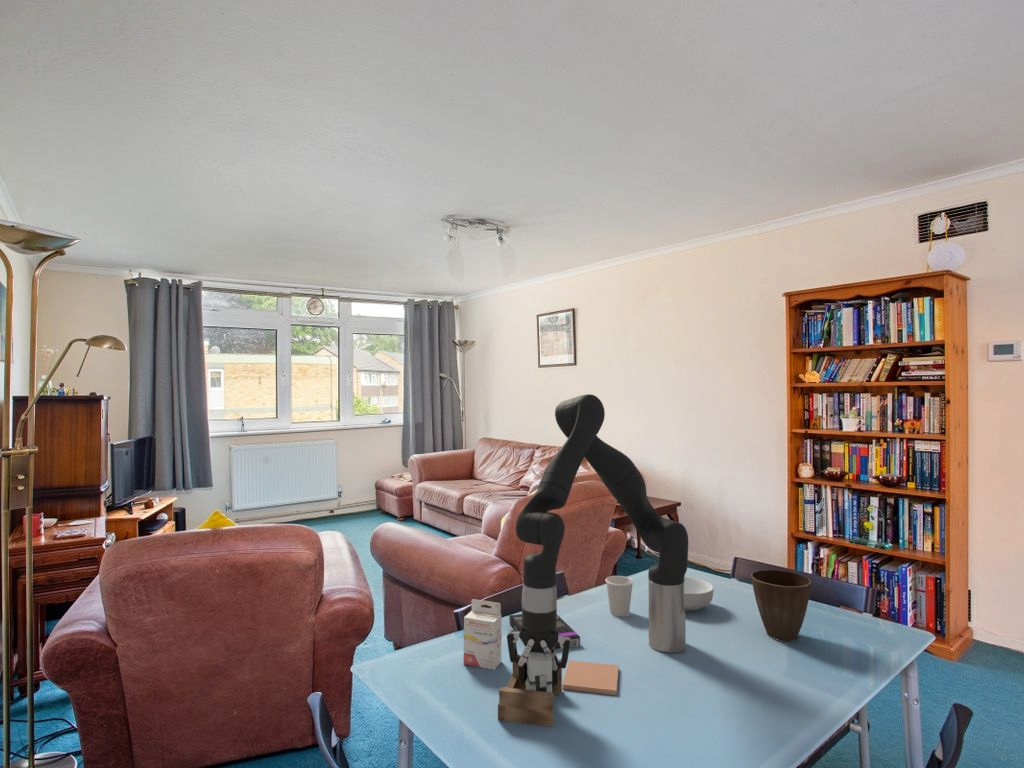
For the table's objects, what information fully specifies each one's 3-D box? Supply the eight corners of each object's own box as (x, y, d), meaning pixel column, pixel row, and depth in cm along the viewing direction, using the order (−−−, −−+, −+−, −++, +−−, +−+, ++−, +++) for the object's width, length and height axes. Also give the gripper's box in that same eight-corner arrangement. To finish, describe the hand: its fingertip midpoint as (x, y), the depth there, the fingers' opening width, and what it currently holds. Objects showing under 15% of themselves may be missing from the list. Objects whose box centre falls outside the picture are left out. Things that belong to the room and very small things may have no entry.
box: (580, 649, 150) (553, 620, 168) (580, 636, 150) (553, 608, 168) (530, 656, 146) (508, 625, 164) (530, 642, 146) (508, 612, 164)
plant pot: (752, 642, 152) (751, 582, 152) (751, 621, 165) (750, 566, 166) (814, 651, 146) (814, 589, 146) (808, 629, 160) (807, 572, 160)
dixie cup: (613, 605, 178) (612, 573, 178) (637, 611, 173) (637, 578, 173) (600, 614, 171) (600, 581, 172) (626, 620, 166) (626, 586, 167)
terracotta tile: (618, 669, 137) (618, 665, 137) (616, 695, 125) (616, 690, 125) (569, 664, 140) (569, 660, 140) (562, 689, 128) (562, 684, 128)
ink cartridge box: (462, 665, 139) (462, 605, 140) (470, 656, 144) (470, 598, 144) (495, 670, 137) (495, 609, 137) (502, 661, 141) (502, 602, 142)
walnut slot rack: (561, 691, 127) (561, 664, 127) (552, 727, 113) (552, 696, 113) (512, 685, 129) (512, 659, 130) (497, 720, 116) (497, 690, 116)
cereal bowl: (721, 617, 169) (721, 593, 169) (665, 617, 169) (665, 593, 169) (703, 596, 186) (703, 575, 186) (652, 596, 186) (652, 575, 186)
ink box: (524, 694, 125) (525, 640, 126) (546, 694, 126) (547, 640, 126) (528, 717, 117) (529, 659, 117) (552, 716, 117) (553, 658, 117)
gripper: (574, 601, 124) (573, 679, 123) (510, 595, 127) (509, 671, 126) (570, 614, 116) (569, 697, 116) (502, 607, 119) (501, 688, 119)
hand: (538, 683), depth 121 cm, fingers closed on ink box, 6 cm apart
